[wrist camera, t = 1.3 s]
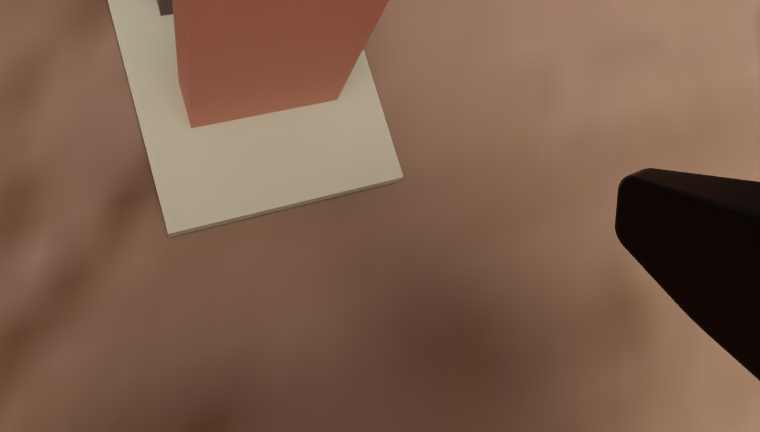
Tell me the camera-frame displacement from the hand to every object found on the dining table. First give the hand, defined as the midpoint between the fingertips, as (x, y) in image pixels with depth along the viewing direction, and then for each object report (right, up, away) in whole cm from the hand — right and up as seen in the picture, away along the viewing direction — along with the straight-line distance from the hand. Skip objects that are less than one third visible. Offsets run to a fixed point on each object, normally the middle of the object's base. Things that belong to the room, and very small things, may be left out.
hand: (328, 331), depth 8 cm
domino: (-3, +6, +14) cm, 16 cm away
